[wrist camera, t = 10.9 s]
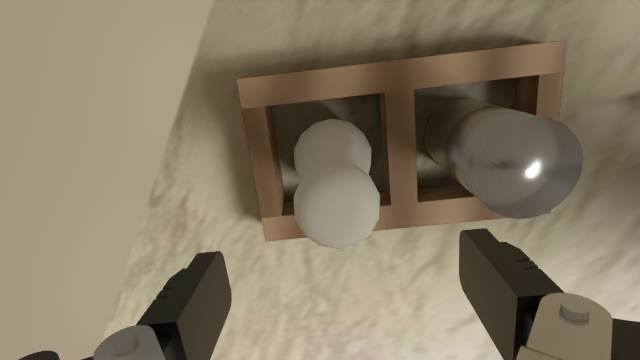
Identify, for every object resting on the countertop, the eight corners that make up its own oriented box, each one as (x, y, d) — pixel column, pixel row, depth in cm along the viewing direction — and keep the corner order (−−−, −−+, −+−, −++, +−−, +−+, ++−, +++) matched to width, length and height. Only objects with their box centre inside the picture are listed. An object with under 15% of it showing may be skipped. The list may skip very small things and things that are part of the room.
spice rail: (540, 42, 26) (566, 40, 23) (528, 199, 30) (550, 213, 27) (245, 77, 27) (236, 79, 24) (270, 224, 31) (265, 241, 28)
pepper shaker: (496, 94, 27) (588, 111, 18) (493, 164, 29) (575, 213, 20) (423, 102, 28) (475, 123, 18) (424, 171, 29) (473, 223, 20)
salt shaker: (379, 165, 29) (419, 241, 17) (317, 195, 30) (312, 287, 18) (347, 101, 28) (367, 132, 15) (283, 134, 29) (252, 189, 16)
